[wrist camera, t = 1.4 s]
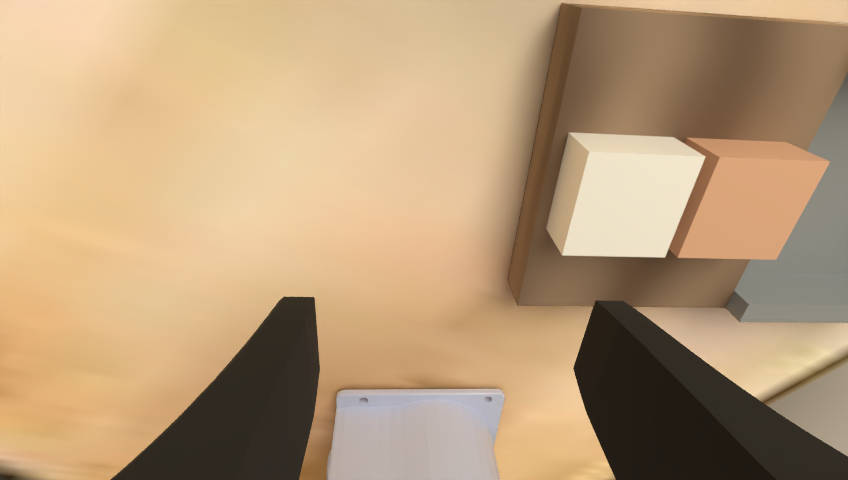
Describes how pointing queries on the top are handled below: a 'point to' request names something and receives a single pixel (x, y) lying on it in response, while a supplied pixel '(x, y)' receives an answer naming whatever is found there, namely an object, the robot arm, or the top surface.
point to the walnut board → (665, 129)
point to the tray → (808, 244)
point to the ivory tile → (621, 194)
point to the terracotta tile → (745, 198)
